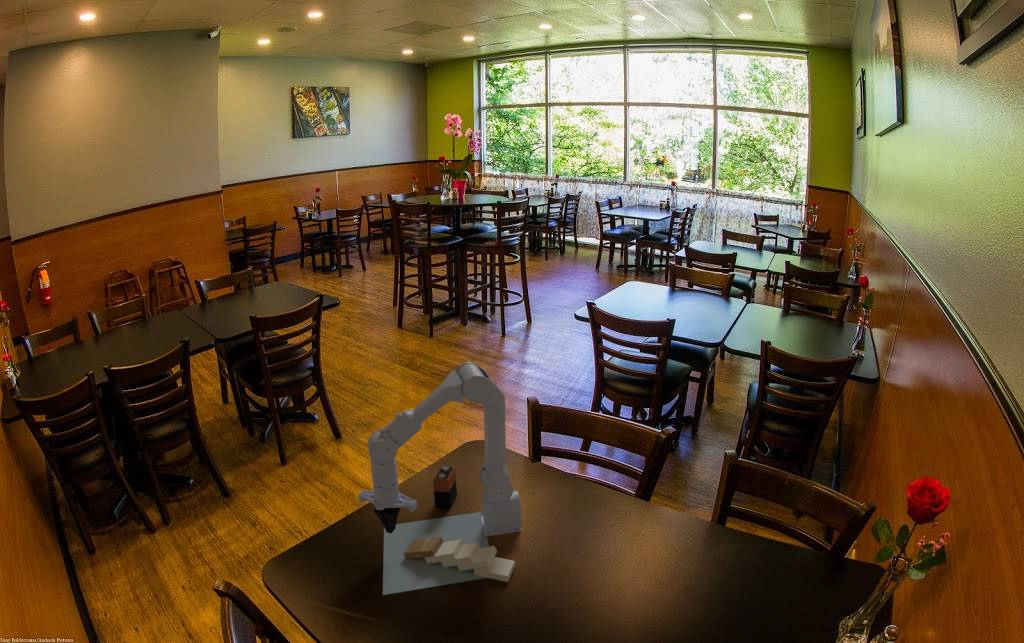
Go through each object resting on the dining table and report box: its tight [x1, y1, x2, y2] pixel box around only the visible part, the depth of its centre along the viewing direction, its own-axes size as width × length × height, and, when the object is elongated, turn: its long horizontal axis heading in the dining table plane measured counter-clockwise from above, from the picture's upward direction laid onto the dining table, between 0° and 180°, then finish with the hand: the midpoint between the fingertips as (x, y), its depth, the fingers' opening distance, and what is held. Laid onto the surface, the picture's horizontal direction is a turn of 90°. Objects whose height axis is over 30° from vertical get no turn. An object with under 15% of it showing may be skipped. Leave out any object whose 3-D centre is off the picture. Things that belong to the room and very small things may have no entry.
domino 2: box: [441, 542, 480, 568], centre depth 135 cm, size 2×5×8 cm
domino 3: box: [457, 545, 498, 571], centre depth 134 cm, size 2×5×8 cm
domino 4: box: [474, 556, 516, 583], centre depth 133 cm, size 2×5×8 cm
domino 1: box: [425, 539, 464, 564], centre depth 136 cm, size 2×5×8 cm
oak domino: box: [404, 537, 443, 559], centre depth 138 cm, size 2×5×8 cm
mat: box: [382, 511, 490, 596], centre depth 141 cm, size 25×24×1 cm
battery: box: [432, 464, 458, 510], centre depth 158 cm, size 4×7×10 cm, turn 168°
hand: (391, 530), depth 140 cm, fingers closed
